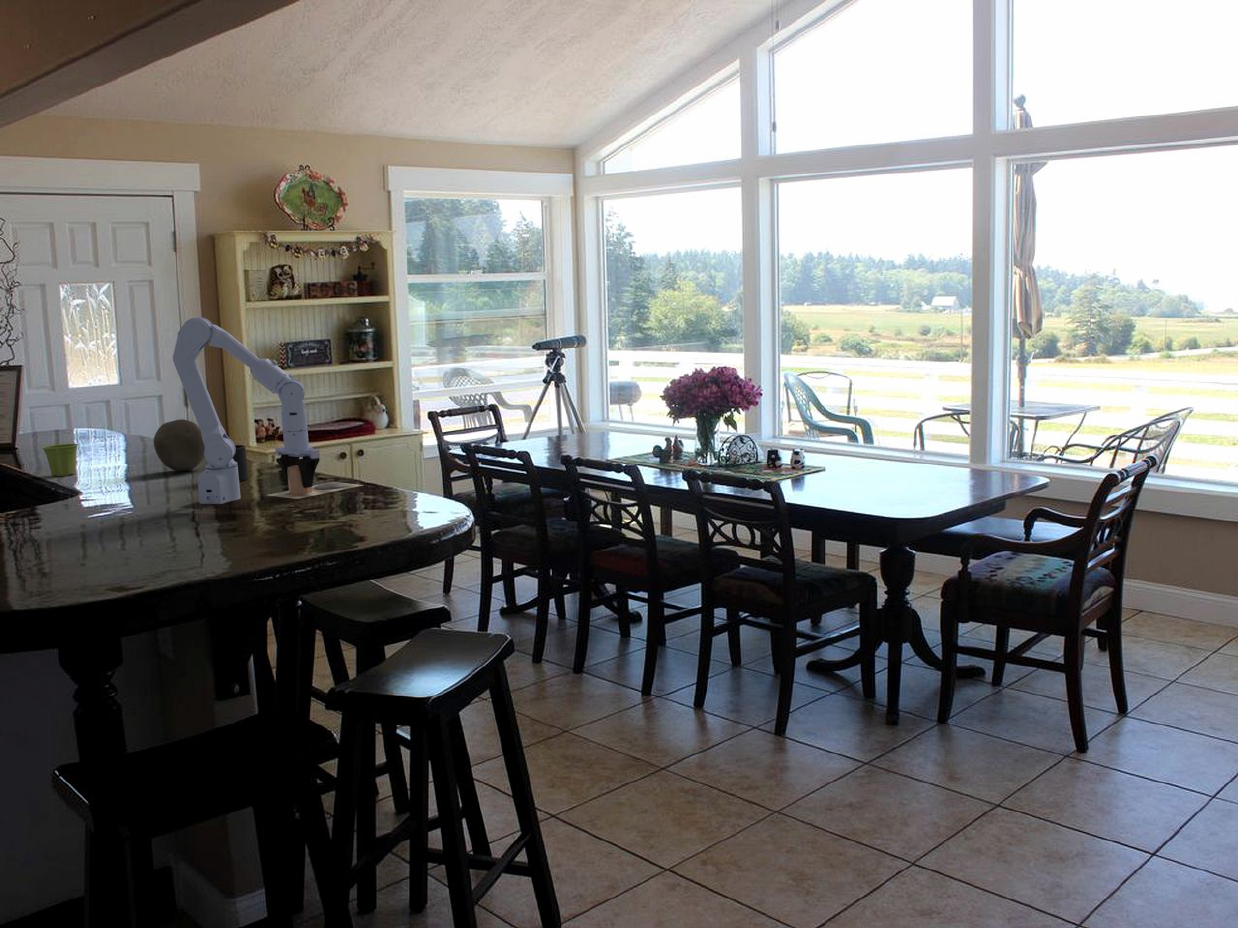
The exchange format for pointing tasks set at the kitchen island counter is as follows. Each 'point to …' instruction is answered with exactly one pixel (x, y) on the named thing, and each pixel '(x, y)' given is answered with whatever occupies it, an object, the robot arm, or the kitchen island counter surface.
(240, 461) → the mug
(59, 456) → the plant pot
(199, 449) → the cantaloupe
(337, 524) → the kitchen island counter surface
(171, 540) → the kitchen island counter surface
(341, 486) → the board
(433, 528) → the kitchen island counter surface
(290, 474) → the wooden block
